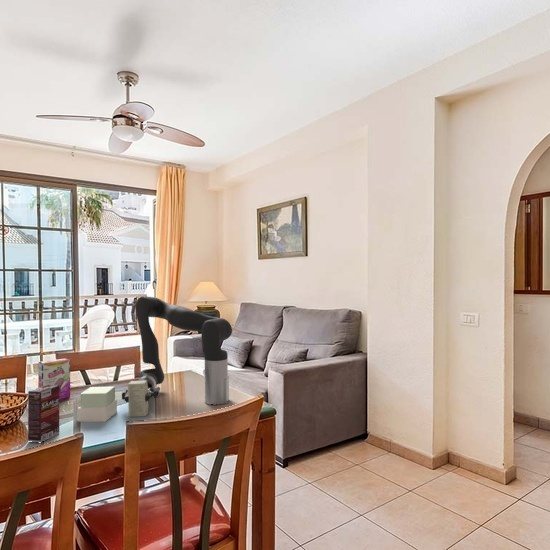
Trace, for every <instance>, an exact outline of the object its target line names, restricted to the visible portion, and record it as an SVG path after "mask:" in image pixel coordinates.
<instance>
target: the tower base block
mask: <svg viewBox="0 0 550 550" xmlns="http://www.w3.org/2000/svg"><path fill="white" fill-rule="evenodd" d="M76 413H77V414H76V415H77V417H76V418H77V422H107V421H108V420H109V419H111V416H112V417H113V416H115V414H116V413H118V399H115V400H114V401H113V402H112V403H111V404H110V405H108V406H107V407H100V408H81V405H80V406H78V407H77V412H76Z"/></svg>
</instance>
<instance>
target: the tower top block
mask: <svg viewBox="0 0 550 550" xmlns="http://www.w3.org/2000/svg"><path fill="white" fill-rule="evenodd" d="M79 399H80V406H81V408H100V407H107V406H108V405H110V404H111V403H112V402H113V401H114V400H116V386H90V387H89V388H87V389H85V390H84V391H83V392H81V393H80V398H79Z"/></svg>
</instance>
